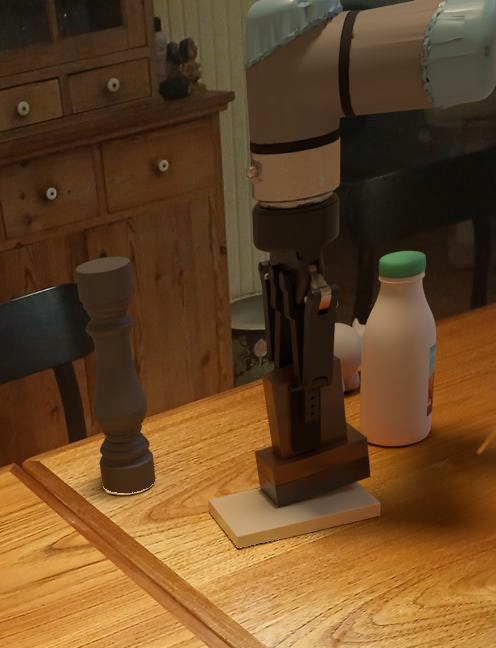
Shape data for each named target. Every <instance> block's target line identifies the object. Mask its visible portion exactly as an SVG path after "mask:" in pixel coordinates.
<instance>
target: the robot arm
mask: <svg viewBox="0 0 496 648" xmlns="http://www.w3.org/2000/svg"><path fill="white" fill-rule="evenodd" d="M343 7H344V6H343V5H342V4H341V0H258V1H256V2H255V3H253V4H252V5H251V6H250V8H249V9H248V12H247V14H246V19H245V63H244V65H243V67H244V68H243V71H245V81H246V83H245V86H246V100H247V117H248V118H247V119H248V134H249V159H250V166H248V167H246V169H245V175H246V177H247V178H248V179H250V183H251V197H252V199H254V200H255V201H256V203H255V204H254V206H253V207H252V209H251V218H252V219H251V220H252V222H251V223H252V241H253V242H252V243H253V246H254V247H255V248H256V249H257V250H259V251H260V252H264V253H269V259H268V260H264V261H259V262H258V266H257V271H258V273H259V280H260V284H261V292H262V294H261V295H262V305H263V307H262V308H263V318H264V331H265V332H264V333H265V346H266V358H267V359H266V360H267V361H268V364H273V370H276V369H279V368H282V367H285V366H288V365H291V364H293V365H294V379H295V384H293V385H289V386H288V391H289V392H290V393H291V421H292V450H293V451H294V452H299V451H303V450H307V449H311V448H316V447H320V446H321V392H320V387H324V386H328V385H331V384H332V376H333V356H334V336H335V323H336V317H337V316H336V312H337V307H338V302H339V300H340V295H341V294H340V293H341V291H340V287H339V284H338V283H333V284H330V285H328V283H327V282H326V279H327V277H326V275H327V274H326V266H325V263H324V255H323V250H324V248H325V247H326V246H327V245H328V244H330V243H332V242H333V241H335V240H336V239H337V237H338V236H339V234H340V196H338V194H337V193H336V192H334V191H335V190H336V189H338V188H339V187H340V184H341V136H340V122H341V118H354V117H355V118H356V117H357V116H365V115H373V114H384V113H394V112H404V111H405V112H406V111H414V110H424V109H433V108H439V109H440V110H445V109H449V108H451V107H453V106H456V105H461V104H468V103H473V102H478V101H483V100H485V99H486V98H488V97H489V96H490V95H491V94H492V93H493V91H494V90H495V89H496V0H411V1H406V2H401V3H395V4H390V5H385V6H380V7H374V8H369V9H365V10H359V9H358V10H344V9H343ZM343 10H344V11H343Z"/></svg>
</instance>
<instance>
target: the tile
mask: <svg viewBox="0 0 496 648" xmlns="http://www.w3.org/2000/svg"><path fill="white" fill-rule="evenodd" d="M207 501H208V512H209V514H210V515H211V517H212V518H213V519H214V520H215V521H216V523H217V524H218V525H219V527H220V528H221V530H222V531H223V530H224V531H225V532H224V531H223V532H224V533H225V535H226V534H227V535H228V536H227V535H226V536H227V537H228V539H229V540H230V539H231V540H232V541H233V542H234V544H235V545H236V546H235V545H234V544H233V545H234V546H235V548H236V547H237V548H240V547H244V546H245V547H246V546H250V545H254V546H257V545H256V544H258V545H260V544H259V543H263V544H266V543H265V542H267V543H270V542H269V541H271V542H275V541H279V539H280V540H284V539H288V538H292V537H296V536H300V535H305V534H308V533H309V534H310V533H314V532H317V531H321V530H327V529H330V528H334V527H338V526H344V525H346V524H347V525H348V524H351V523H355V522H356V523H357V522H359V521H364V520H368V519H372V518H378V517H380V516H381V509H382V508H381V506H382V505H381V504H382V503H381V501H379V500H378V499H377V498H376V497H375V496H374V495H372V493H370V492H369V491H368V490H366V488H364V487H363V486H362V485H361V484H360V483H359V481H357V482H354V483H351V484H348V485H345V486H342V487H339V488H336V489H334V490H331V491H328V492H325V493H322V494H319V495H316V496H313V497H310V498H307V499H304V500H301V501H298V502H295V503H292V504H289V505H286V506H283V507H280V508H278V507H277V506H276V505H275V504H274V503H273V502H272V501H271V500H270V498H269V497H268V496H267V495H266V494H265V493H264V492H263V491H262V490H261V489H260V487H257V488H253V489H248V490H245V491H241V492H235V493H231V494H227V495H224V496H219V497H214V498H211V499H208V500H207ZM231 540H230V541H231ZM274 540H275V541H274ZM232 541H231V542H232ZM233 542H232V543H233ZM250 547H251V546H250ZM237 548H236V549H237ZM246 548H247V547H246Z"/></svg>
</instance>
